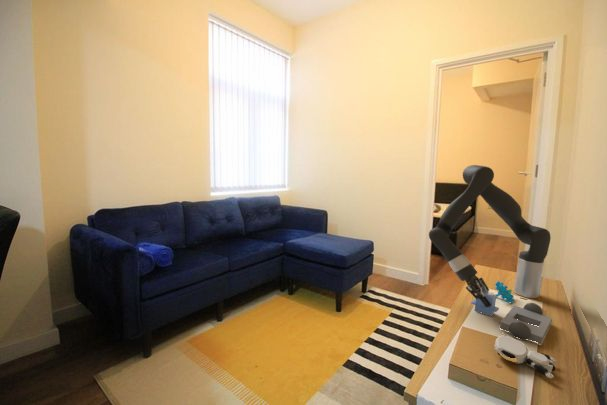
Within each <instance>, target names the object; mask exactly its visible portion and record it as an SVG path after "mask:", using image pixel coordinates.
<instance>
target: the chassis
mask: <svg viewBox="0 0 607 405" xmlns="http://www.w3.org/2000/svg"><path fill="white" fill-rule="evenodd" d="M517 319H518V320H517ZM552 320H553V318H552V317H551V316H547V315H545V314H544V310H543V308H542V307H541V305H539V304H537V303H535V302H528V303H526V304H524V306H523V307H520V306H517V305H514V306H513V307H511V309H510V310H509V311H508V313H506V315H505V316H504V317H503V318H502V319H501V321H500V324H499V329H500V328H501V329H503V330H506V331H509V332H510V333H511V335H512V336H513V337H514V336H515V337H514V338H516V337H518V338H520V339H522V340H521V341H523V340H524V341H528V340H532V341H536V342H538V344H537V345H539V346H542V344H543V342H544V340H545V338H546V337H547V334H548V332H549V331H550V328H551V326H552ZM528 323H529V324H528ZM531 324H533V325H531ZM534 325H537V326H539V327H537V326H534ZM510 333H509V334H510ZM520 339H519V340H520ZM526 339H528V340H526Z"/></svg>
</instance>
